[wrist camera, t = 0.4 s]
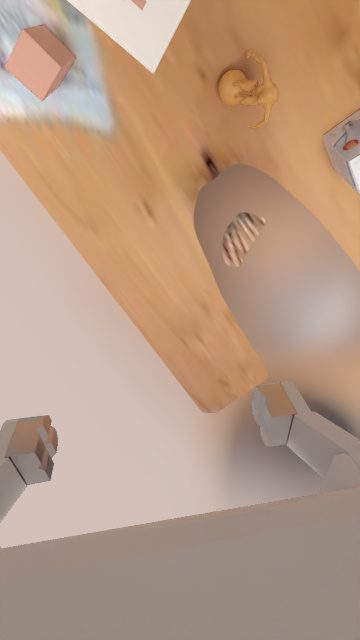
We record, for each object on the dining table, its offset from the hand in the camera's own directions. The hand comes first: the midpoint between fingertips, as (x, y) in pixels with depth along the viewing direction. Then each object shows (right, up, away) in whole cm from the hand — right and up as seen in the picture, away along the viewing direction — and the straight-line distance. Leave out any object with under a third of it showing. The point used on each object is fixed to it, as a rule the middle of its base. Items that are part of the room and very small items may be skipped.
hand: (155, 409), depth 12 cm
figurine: (+9, +38, +32) cm, 50 cm away
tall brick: (-16, +39, +29) cm, 51 cm away
